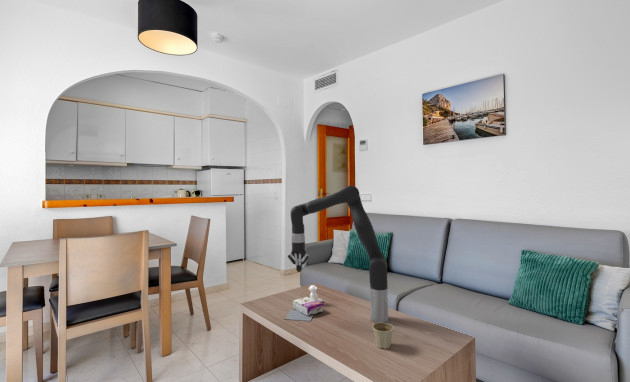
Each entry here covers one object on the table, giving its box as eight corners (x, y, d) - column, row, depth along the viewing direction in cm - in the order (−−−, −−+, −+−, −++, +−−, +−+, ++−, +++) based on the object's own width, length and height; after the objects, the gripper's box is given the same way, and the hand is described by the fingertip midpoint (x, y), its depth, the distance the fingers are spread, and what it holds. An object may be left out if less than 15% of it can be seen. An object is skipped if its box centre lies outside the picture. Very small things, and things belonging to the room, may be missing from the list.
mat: (315, 311, 183) (315, 311, 183) (310, 321, 170) (310, 320, 170) (290, 310, 186) (290, 309, 186) (283, 319, 173) (283, 318, 173)
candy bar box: (323, 312, 182) (307, 304, 195) (323, 303, 182) (307, 296, 195) (307, 316, 175) (292, 308, 189) (307, 307, 175) (292, 299, 189)
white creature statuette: (322, 301, 199) (322, 282, 199) (321, 306, 191) (320, 287, 190) (307, 301, 200) (307, 282, 200) (305, 306, 192) (305, 286, 191)
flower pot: (378, 338, 150) (378, 320, 150) (397, 344, 144) (397, 325, 144) (369, 346, 142) (368, 327, 142) (388, 353, 136) (387, 333, 136)
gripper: (311, 240, 180) (312, 270, 180) (289, 239, 183) (289, 269, 183) (308, 242, 172) (309, 273, 173) (285, 242, 175) (285, 273, 176)
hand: (299, 271), depth 178 cm, fingers closed
